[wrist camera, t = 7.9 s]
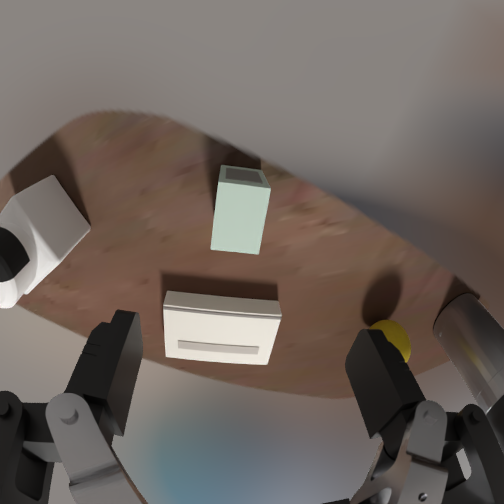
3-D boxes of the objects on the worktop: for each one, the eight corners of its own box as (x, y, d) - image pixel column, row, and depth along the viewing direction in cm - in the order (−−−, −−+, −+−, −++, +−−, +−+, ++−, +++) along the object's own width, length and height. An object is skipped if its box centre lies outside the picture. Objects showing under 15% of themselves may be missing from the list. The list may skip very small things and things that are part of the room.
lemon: (373, 343, 36) (394, 386, 29) (348, 331, 35) (369, 378, 28) (400, 315, 34) (427, 357, 27) (378, 301, 33) (406, 346, 26)
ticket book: (278, 300, 31) (281, 315, 29) (264, 350, 35) (267, 365, 33) (167, 290, 29) (163, 305, 27) (168, 342, 33) (165, 357, 31)
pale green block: (261, 169, 24) (271, 187, 19) (252, 223, 26) (258, 254, 21) (221, 164, 24) (218, 180, 18) (214, 218, 26) (210, 249, 21)
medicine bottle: (20, 211, 24) (-48, 266, 13) (54, 172, 22) (-27, 219, 12) (56, 260, 27) (1, 329, 16) (93, 227, 25) (31, 299, 15)
